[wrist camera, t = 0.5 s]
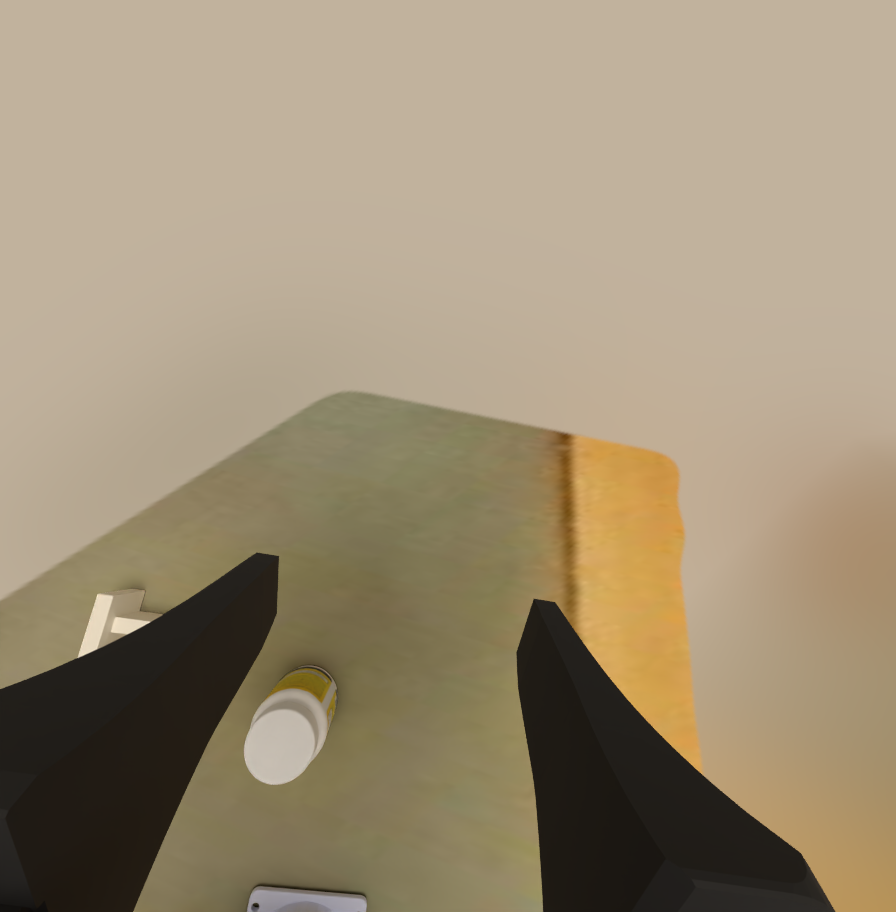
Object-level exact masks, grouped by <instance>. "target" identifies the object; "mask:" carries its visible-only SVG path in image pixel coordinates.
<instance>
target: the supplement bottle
mask: <svg viewBox="0 0 896 912" xmlns="http://www.w3.org/2000/svg"><path fill="white" fill-rule="evenodd" d="M337 702H338V691H337V687H336V684H335V682H334V680H333V678H332V677H331V676H330V675H329V673H327V672H326V671H325V670H324V669H322V668H320V667H317V666H310V665H308V666H301V667H298V668H296V669H293V670H292V671H290V672H289V673H287V674H286V675H285V676H284V677H283V678H282V679H281V680H280V681H279V683H278V684H277V685H276V686H275V688H274V689H273V690H272V691H271V693H270V694H269V695H268V696H267V698H266V699H265V700H264V701H263V702H262V704H261V705H260V706H259V708H258V709H257V711H256V713H255V715H254V717H253V719H252V723H251V727H250V730H249V732H248V734H247V737H246V740H245V745H244V758H245V762H246V765H247V767H248V769H249V771H250V772H251V774H252V775H253V776H254V777H255V778H256V779H258V780H259V781H261V782H263V783H266V784H271V785H279V784H284V783H287V782H289V781H291V780H293V779H295V778H296V777H298V776H299V775H300V774H301V773H302V772H303V771H304V770H305V769H306V768H307V766H308V765H309V763H310V762H311V761H312V760H313V759H314V758H315V757H316V756H317V754H318V753H319V752H320V750H321V748H322V746H323V745H324V742H325V739H326V737H327V733H328V730H329V728H330V725H331V722H332V719H333V716H334V713H335V710H336V706H337Z"/></svg>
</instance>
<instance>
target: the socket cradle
mask: <svg viewBox="0 0 896 912" xmlns="http://www.w3.org/2000/svg"><path fill="white" fill-rule="evenodd" d="M145 591H146V590H139V589H126V590H119V591H113V592H106V593H99V594H98V595H97V598H96V601H95V605H94V608H93V611H92V614H91V617H90V620H89V624H88V627H87V630H86V633H85V636H84V640H83V643H82V646H81V649H80V652H79V655H78V658H79V657H81V656H83V655H85V654H88V653H90V652H92V651H94V650H97V649H99V648H101V647H103V646H105V645H107V644H109V643H111V642H113V641H115V640H117V639H119V638H121V637H123V636H125V635H127V634H129V633H131V632H133V631H135V630H137V629H139V628H140V627H142V626H144V625H146V624H148V623H150V622H151V621H153V620H155V619H157V618H158V617H160V616H162V615H163V614H158V613H151V612H144V611H140V608H141V604H142V601H143V598H144V594H145Z"/></svg>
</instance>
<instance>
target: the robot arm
mask: <svg viewBox="0 0 896 912" xmlns="http://www.w3.org/2000/svg"><path fill="white" fill-rule="evenodd" d="M278 565H279V556H274V555H268V554H262V553H256V554H254V555H253V556H251V557H250V558H248V559H247V560H245V561H244V562H242V563H241V564H239V565H238V566H236V567H235V568H234V569H232V570H231V571H229V572H228V573H226V574H225V575H224V576H222V577H221V578H219V579H218V580H216V581H215V582H213V583H212V584H210V585H209V586H207V587H206V588H204V589H203V590H201V591H200V592H198V593H197V594H195V595H194V596H192V597H191V598H189V599H188V600H186V601H185V602H183V603H181V604H180V605H178V606H176V607H175V608H173V609H171V610H170V611H168V612H167V613H165V614H163V615H162V616H160V617H158V618H157V619H155V620H153V621H151V622H150V623H148V624H146V625H144V626H142V627H140V628H139V629H137V630H135V631H133V632H131V633H129V634H127V635H125V636H123V637H121V638H119V639H117V640H115V641H113V642H111V643H109V644H107V645H105V646H103V647H101V648H99V649H97V650H94V651H92V652H90V653H88V654H85V655H83V656H81V657H79V658H77V659H74V660H72V661H70V662H68V663H65V664H63V665H61V666H59V667H56V668H54V669H52V670H49V671H47V672H44V673H42V674H39V675H37V676H34V677H32V678H29V679H27V680H24V681H21V682H19V683H16V684H13V685H11V686H8V687H5V688H3V689H0V912H133V911H134V908H135V906H136V903H137V901H138V898H139V896H140V893H141V891H142V889H143V886H144V884H145V882H146V879H147V877H148V875H149V872H150V870H151V868H152V865H153V863H154V861H155V858H156V856H157V854H158V851H159V849H160V847H161V844H162V842H163V840H164V837H165V835H166V833H167V831H168V829H169V826H170V824H171V822H172V820H173V817H174V815H175V813H176V811H177V808H178V806H179V804H180V802H181V800H182V797H183V795H184V793H185V791H186V788H187V786H188V784H189V782H190V780H191V778H192V776H193V773H194V771H195V769H196V767H197V765H198V763H199V761H200V758H201V756H202V754H203V752H204V750H205V748H206V746H207V744H208V742H209V740H210V738H211V736H212V735H213V733H214V731H215V729H216V727H217V725H218V724H219V722H220V720H221V718H222V717H223V715H224V713H225V712H226V710H227V708H228V706H229V705H230V703H231V701H232V699H233V698H234V696H235V694H236V693H237V691H238V689H239V687H240V686H241V684H242V682H243V681H244V679H245V677H246V675H247V674H248V672H249V670H250V668H251V667H252V665H253V663H254V661H255V660H256V658H257V656H258V654H259V653H260V651H261V649H262V647H263V645H264V642H265V640H266V638H267V636H268V633H269V631H270V629H271V626H272V624H273V621H274V619H275V617H276V614H277V592H278ZM517 674H518V690H519V696H520V702H521V708H522V715H523V721H524V726H525V732H526V738H527V744H528V750H529V756H530V761H531V767H532V773H533V780H534V788H535V796H536V808H537V820H538V833H539V847H540V862H541V878H542V895H543V912H835V910H834V909H833V907H832V905H831V904H830V902H829V900H828V898H827V897H826V895H825V893H824V892H823V890H822V888H821V886H820V885H819V883H818V881H817V879H816V878H815V876H814V874H813V873H812V871H811V869H810V867H809V866H808V864H807V862H806V861H805V859H804V858H803V856H802V854H801V853H800V852H799V851H797V850H796V849H795V848H793V847H792V846H790V845H789V844H788V843H787V842H785V841H784V840H783V839H781V838H780V837H779V836H777V835H776V834H775V833H773V832H772V831H770V830H769V829H768V828H767V827H765V826H764V825H763V824H761V823H760V822H759V821H758V820H756V819H755V818H754V817H752V816H751V815H750V814H748V813H747V812H746V811H744V810H743V809H742V808H740V806H738V805H737V804H736V803H735V802H734V801H732V800H731V799H730V798H729V797H728V796H726V795H725V794H724V793H723V792H722V791H720V790H719V789H718V788H717V787H716V786H714V785H713V784H712V783H711V782H710V781H709V780H708V779H706V778H705V777H704V776H703V775H702V774H701V773H700V772H699V771H697V770H696V769H695V768H694V767H693V766H692V765H691V764H690V763H689V762H688V761H687V760H686V759H684V758H683V757H682V756H681V755H680V754H679V753H678V752H677V751H676V750H675V749H674V748H673V747H672V746H671V745H670V744H669V743H668V742H667V741H666V740H665V739H664V738H663V737H662V736H661V735H660V734H659V733H658V732H657V731H656V730H655V729H654V728H653V727H652V726H651V725H650V724H649V723H648V722H647V721H646V720H645V718H644V717H643V716H642V715H641V714H640V713H639V712H638V711H637V710H636V709H635V708H634V707H633V705H632V704H631V703H630V702H629V701H628V700H627V699H626V697H625V696H624V695H623V694H622V693H621V691H620V690H619V689H618V688H617V686H616V685H615V684H614V683H613V682H612V680H611V679H610V678H609V677H608V675H607V674H606V673H605V672H604V670H603V669H602V668H601V666H600V665H599V664H598V662H597V661H596V660H595V658H594V657H593V656H592V654H591V653H590V652H589V650H588V649H587V648H586V646H585V645H584V643H583V642H582V641H581V639H580V638H579V636H578V635H577V633H576V632H575V631H574V629H573V628H572V626H571V625H570V623H569V622H568V620H567V619H566V617H565V616H564V614H563V613H562V612H561V610H560V609H559V607H558V606H557V604H556V603H555V602H550V601H544V600H538V599H534V600H533V603H532V606H531V609H530V612H529V615H528V619H527V622H526V625H525V628H524V631H523V634H522V637H521V640H520V644H519V647H518V650H517ZM254 903H258V904H259V907H254V906H253V904H254ZM366 908H367V900H366V898H365V897H364V896H362V895H354V894H343V893H331V892H320V891H309V890H297V889H286V888H275V887H263V886H258V887H256V888H254V890H253V891H252V893H251V896H250V899H249V904H248V908H247V912H358V911H359V912H366Z"/></svg>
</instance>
